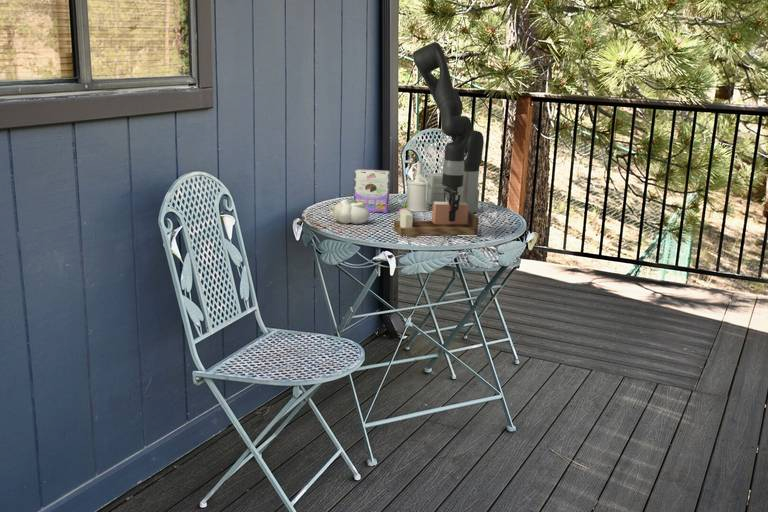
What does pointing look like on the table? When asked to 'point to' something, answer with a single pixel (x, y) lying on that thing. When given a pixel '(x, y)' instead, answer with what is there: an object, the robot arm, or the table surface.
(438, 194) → the supplement box
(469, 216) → the book rack
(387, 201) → the candy box
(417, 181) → the white bottle
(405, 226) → the bookend
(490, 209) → the table surface
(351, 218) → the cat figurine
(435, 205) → the book
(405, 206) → the rabbit figure
